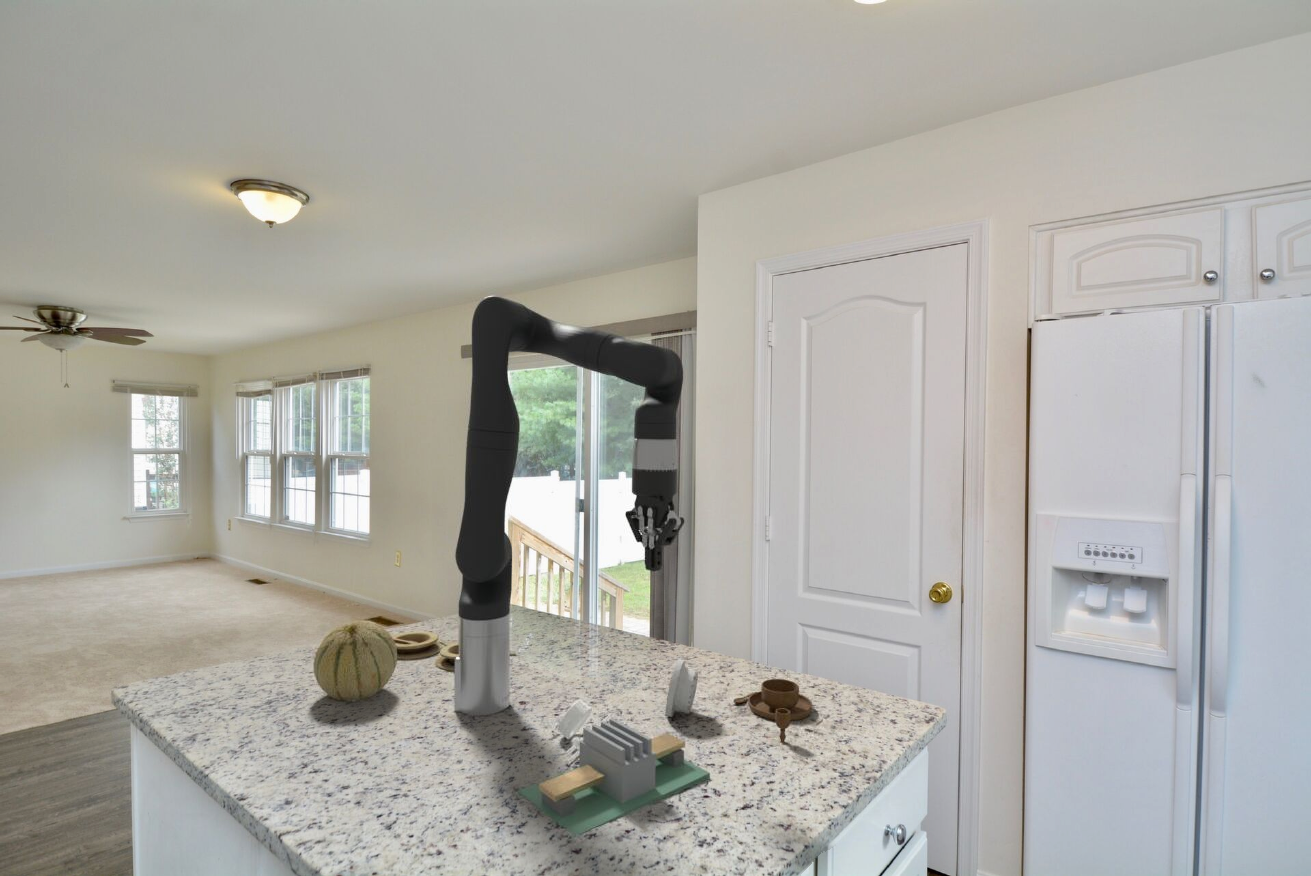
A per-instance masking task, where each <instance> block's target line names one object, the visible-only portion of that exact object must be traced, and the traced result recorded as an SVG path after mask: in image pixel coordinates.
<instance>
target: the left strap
mask: <svg viewBox="0 0 1311 876" xmlns="http://www.w3.org/2000/svg"><path fill="white" fill-rule="evenodd" d="M577 768H578V767H577ZM572 770H573V769H572ZM567 772H568V771H567ZM604 781H605V775H603V774H601V773H600V772H598V771H597V770H595V769H594V768H592V767H591V766H589V765H586V766H583V767H581V768H578V769H576V770H573V771H571V772H568V773H566V774H563V775H561V776H558V777H556V778H553V779H551V780H548V781H546V782H543V783H541V784H539V790H540V791H541V792H543V793H544V794H545V795H547V796H548V797H549V798H551V799H552V800H553V801H555V802H557V801H560V800H562V799H564V798H567V797H569V796H571V795H574V794H576V793H578V792H581V791H583V790H585V789H588V788H590V787H592V786H595V785H597V784H599V783H602V782H604Z"/></svg>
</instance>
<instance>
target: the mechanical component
mask: <svg viewBox="0 0 1311 876" xmlns="http://www.w3.org/2000/svg"><path fill="white" fill-rule="evenodd" d="M685 665H686V661H685V660H684V659H681V658H678V659H677V660H676V663H675V666H674V668H673V672H672V675H671V679H670V681H669V686H668V690H667V695H666V704H665V716H668V717H671V718H673V717H674V714H675V713H676V712H679V713H683V714H690V712H691V709H692V708H693V707H692V706H693V704H694V701H695V697H696V691H697V686H698V680H699V672H698V671H697V670H696V669H695V670H694V669H692V668H688V667H686V666H685Z"/></svg>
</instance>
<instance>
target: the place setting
mask: <svg viewBox="0 0 1311 876" xmlns="http://www.w3.org/2000/svg"><path fill="white" fill-rule="evenodd" d="M746 699H747V703H748V707H749V709H750V710H751V712H752V713H754V714H755V715H757V716H758V715H759V717H761V718H763V717H764V718H763V719H767V720H770V721H775V725H776V727H777V728H779V731H780V733H779V739H780V741H779V743H781V744H785V743H786V741H785V740H786V739H787V738H786V737H787V735H786V729H788V728H789V727H790V724H791V722H793V721H794V722H796V721H800V720H803V719H806V718H807V717H808V716H809V715H810V714H811V713H812V711H813V707H814V706H813V703H812V700H810V699H809V697H807V696H805V695H803V694H800V686H799V685H798V684H797V683H796V682H795V681H792V680H790V679H789V680H788V679H783V678H770V679H767V680H764V681H763V682H762V683H761V691H760V690H759V691H754V692H752V693H749V694H747V695H745V696H742V697H737V698H734V699H733V703H734V704H738V705H739V704H742V703H744V702H746ZM830 717H831V715H827V716H826V717H825V718H830ZM823 720H824V719H821V720H820V721H818V722H816V724H815V726H819V725H820V724H822V723H823V722H824V721H823ZM804 730H806V731H809V732H813V731H814V730H813V729H809V728H805V729H804Z"/></svg>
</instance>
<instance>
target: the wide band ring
mask: <svg viewBox="0 0 1311 876" xmlns="http://www.w3.org/2000/svg"><path fill="white" fill-rule="evenodd" d="M591 713H592V707H590V706H589V705H588V704H587V703H586V702H584V700H582V699H578V700H576V702H574V703H573V704H572V705H571V706H570V707H569V708H568V710H566V712H565V713H564V714H563V716H562V717H561V718H560V721H559V722H558V721H557V720H555V718H552V719H551V720H550V721H549V722H548V723H547V726H548V727H550V728H551V729H552V728H554V727H556V730H557V732H559V733H560V734H561V735H562V736H563V737H564V738H565V739H567V740H570V739H572V737H573V736H575V735H576V734H577V733H578V732H579V731H580V729H581V728H582V726H584V724H585V723H586V722H587V720H588V719H589V717H590V716H591ZM614 716H615V714H614V713H612V712H610V713H609V714H608V715H607V716H606V717H604V718H603V719H602V720H600V721H599V723H597V725H598V726H600V727H601V722H603V721H605V722H608V721H609V719H611V718H613V719H614ZM620 722H621V723H623V724H625V725H627V723H626V722H625V721H624V720H623V721H620ZM582 740H583V736H582V737H581V738H580V739H578V741H576V743H574V744H573V745H572V746H571V747H569V748H568V749H567V750H566V751H565V753H564V754H566V755H567V756H570V754H572V753H573V752H574V751H575V750H576V749H577V748H578V747H580V741H582ZM579 756H580V748H579V749H577V751H576V752H575V753H573V754H572V755H571V756H570V757H569V758H568V759H567V760H565V762H564V763H567V765H568V766H570V764H571V763H573V761H575V760H576V759H577V758H578V757H579Z"/></svg>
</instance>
